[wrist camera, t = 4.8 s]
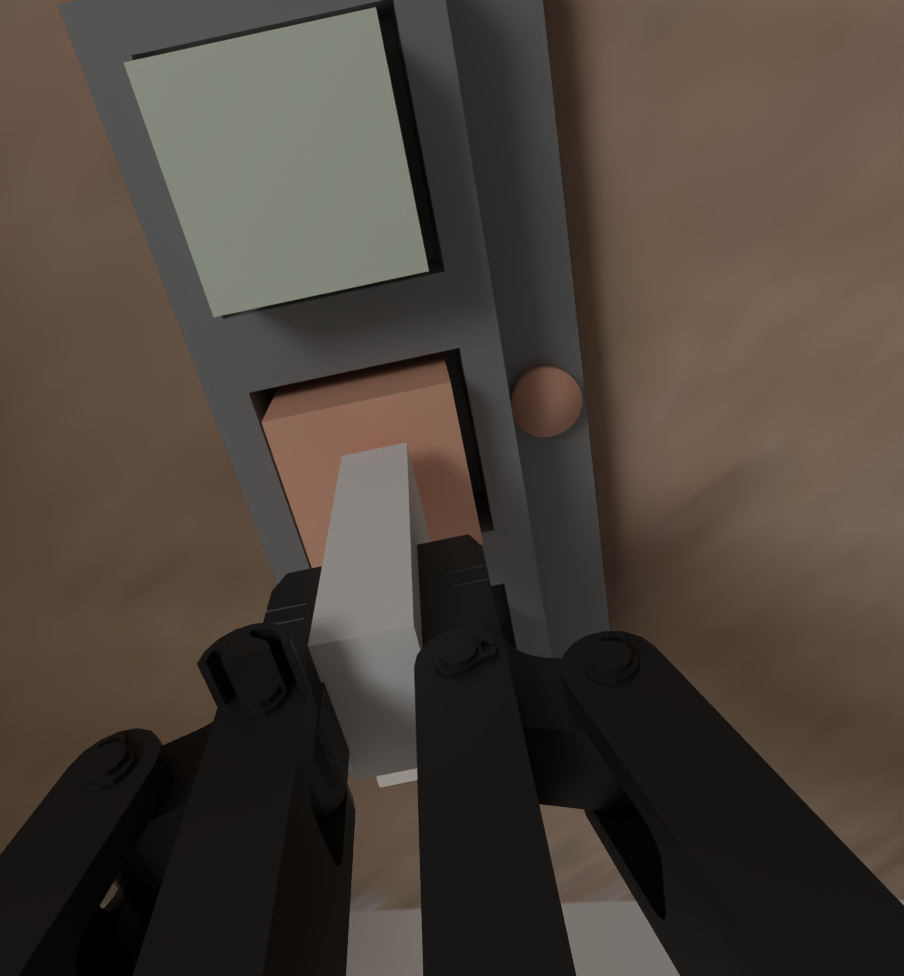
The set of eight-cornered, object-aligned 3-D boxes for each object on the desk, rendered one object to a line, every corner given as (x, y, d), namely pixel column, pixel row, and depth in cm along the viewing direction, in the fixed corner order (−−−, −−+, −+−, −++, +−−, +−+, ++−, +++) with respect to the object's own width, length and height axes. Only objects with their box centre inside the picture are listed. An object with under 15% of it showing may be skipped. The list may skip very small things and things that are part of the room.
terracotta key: (441, 348, 18) (450, 381, 15) (470, 491, 20) (483, 544, 17) (280, 382, 18) (261, 422, 15) (325, 522, 20) (315, 578, 17)
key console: (523, -51, 16) (559, -106, 13) (602, 640, 25) (634, 714, 22) (128, 36, 16) (57, 4, 13) (354, 691, 26) (349, 773, 22)
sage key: (378, 34, 14) (375, 6, 11) (422, 251, 16) (428, 271, 13) (173, 80, 14) (123, 62, 11) (242, 290, 16) (213, 317, 13)
